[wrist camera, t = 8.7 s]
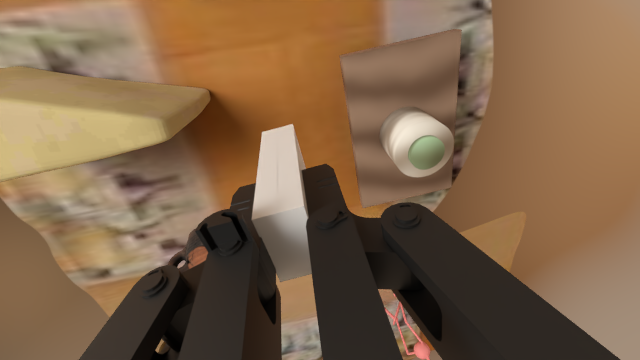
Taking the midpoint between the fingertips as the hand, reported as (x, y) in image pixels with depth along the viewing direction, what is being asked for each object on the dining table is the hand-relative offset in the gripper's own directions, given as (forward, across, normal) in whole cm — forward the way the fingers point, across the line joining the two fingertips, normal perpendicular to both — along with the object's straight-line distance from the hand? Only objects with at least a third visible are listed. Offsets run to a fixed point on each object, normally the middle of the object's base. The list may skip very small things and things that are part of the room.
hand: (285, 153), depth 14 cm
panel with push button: (+23, +14, -11) cm, 29 cm away
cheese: (+28, -21, 0) cm, 35 cm away
